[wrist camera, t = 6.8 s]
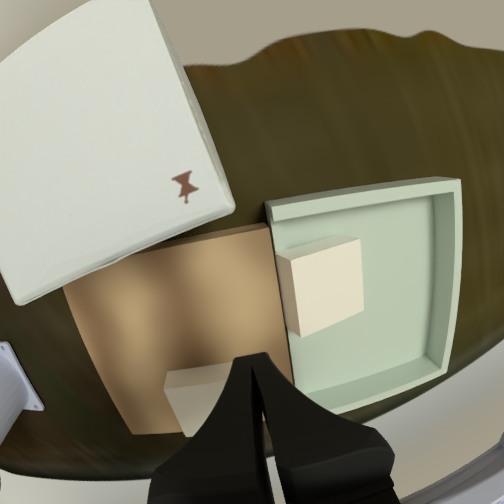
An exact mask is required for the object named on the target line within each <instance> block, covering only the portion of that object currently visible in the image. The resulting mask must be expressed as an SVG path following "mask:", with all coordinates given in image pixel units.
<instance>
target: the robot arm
mask: <svg viewBox="0 0 504 504" xmlns="http://www.w3.org/2000/svg"><path fill="white" fill-rule="evenodd" d="M23 409H28V410H40V411H43V410H44V405H43V403H42V402H41V400H40V398H39V397H38V395H37V393H36V392H35V390H34V388H33V387H32V385H31V383H30V382H29V380H28V378H27V376H26V374H25V373H24V371H23V369H22V367H21V365H20V363H19V361H18V359H17V357H16V355H15V353H14V351H13V349H12V347H11V345H10V344H9V343H8V342H6V341H4V342H0V445H1V443H2V441H3V440H4V438H5V437H6V435H7V433H8V432H9V430H10V428H11V427H12V425H13V424H14V422H15V421H16V419H17V417H18V416H19V414H20V413H21V411H22V410H23ZM262 412H263V413H262ZM263 415H264V418H265V421H266V424H267V428H268V431H269V434H270V437H271V440H272V445H273V451H274V456H275V462H276V466H277V471H278V475H279V478H280V482H281V486H282V490H283V494H284V497H285V502H286V504H504V433H503V434H502V436H501V438H500V441H499V442H498V443H497V444H496V445H494V446H493V447H492V448H490V449H489V450H487V451H486V452H484V453H483V454H481V455H480V456H478V457H477V458H475V459H474V460H472V461H471V462H469V463H468V464H466V465H464V466H463V467H461V468H459V469H458V470H456V471H454V472H453V473H451V474H449V475H447V476H446V477H444V478H442V479H440V480H438V481H436V482H435V483H433V484H431V485H429V486H427V487H425V488H423V489H421V490H419V491H417V492H415V493H412V494H410V495H408V496H406V497H404V498H402V499H398V497H397V495H396V493H395V491H394V489H393V487H394V483H393V481H392V479H391V477H390V473H391V470H392V467H393V463H394V458H395V454H394V452H393V450H392V448H391V447H390V445H389V444H388V442H387V441H386V440H385V439H384V438H383V437H382V435H381V434H380V433H379V432H378V431H377V430H376V429H375V428H372V427H368V426H365V425H362V424H358V423H355V422H352V421H350V420H347V419H345V418H342V417H340V416H338V415H337V414H335V413H333V412H331V411H329V410H327V409H325V408H323V407H322V406H320V405H319V404H317V403H316V402H314V401H313V400H311V399H310V398H308V397H307V396H306V395H305V394H303V393H302V392H301V391H300V390H299V389H297V388H296V387H295V386H294V385H293V384H292V383H291V382H290V381H289V380H288V379H287V378H286V377H285V376H284V375H283V374H282V373H281V371H280V370H279V369H278V368H277V367H276V365H275V364H274V363H273V361H272V360H271V358H270V356H269V354H268V353H267V352H261V353H256V354H251V355H245V356H240V357H235V358H234V359H233V362H232V366H231V370H230V373H229V376H228V378H227V381H226V383H225V386H224V388H223V390H222V393H221V395H220V397H219V399H218V400H217V402H216V404H215V406H214V408H213V410H212V411H211V413H210V414H209V416H208V417H207V419H206V420H205V422H204V423H203V424H202V426H201V427H200V428H199V430H198V431H197V432H196V433H195V434H194V436H193V437H192V438H191V439H190V440H189V441H188V442H187V443H186V444H185V445H184V446H183V447H182V448H181V449H180V450H179V451H178V452H177V453H176V454H175V455H173V456H172V457H171V458H169V459H168V460H167V461H165V462H164V463H163V464H161V465H160V466H159V467H157V468H156V469H155V470H154V473H153V477H152V479H151V483H150V487H149V494H148V500H147V504H275V501H274V497H273V492H272V487H271V482H270V477H269V472H268V467H267V461H266V453H265V439H264V426H263ZM0 480H1V479H0ZM0 488H1V481H0Z"/></svg>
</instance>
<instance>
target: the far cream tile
mask: <svg viewBox="0 0 504 504" xmlns="http://www.w3.org/2000/svg"><path fill="white" fill-rule="evenodd" d="M231 366H232V362H227V363H221V364H215V365H209V366H202V367H196V368H189V369H181V370H174V371H167V375H166V379H165V384H164V388H163V389H164V392H165V394H166V396H167V398H168V401H169V403H170V405H171V407H172V409H173V411H174V414H175V416H176V418H177V420H178V422H179V424H180V426H181V428H182V430H183V432H184V434H185V436H186V437H192V436H194V434H195V433H196V432H197V431H198V430H199V428H200V427H201V426H202V424H203V423H204V422H205V420H206V419H207V417H208V416H209V414H210V413H211V411H212V410H213V408H214V406H215V404H216V402H217V400H218V399H219V397H220V395H221V393H222V390H223V388H224V386H225V383H226V381H227V378H228V376H229V373H230V370H231Z"/></svg>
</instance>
